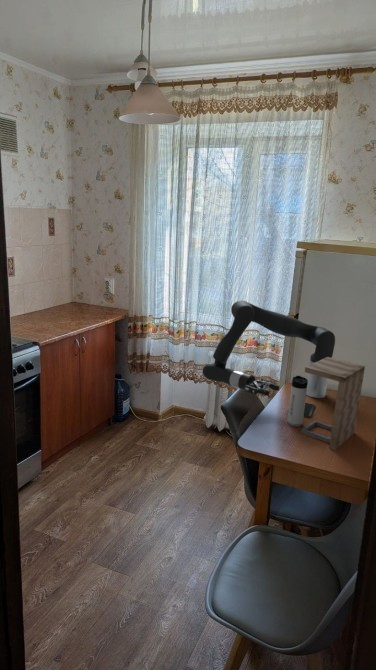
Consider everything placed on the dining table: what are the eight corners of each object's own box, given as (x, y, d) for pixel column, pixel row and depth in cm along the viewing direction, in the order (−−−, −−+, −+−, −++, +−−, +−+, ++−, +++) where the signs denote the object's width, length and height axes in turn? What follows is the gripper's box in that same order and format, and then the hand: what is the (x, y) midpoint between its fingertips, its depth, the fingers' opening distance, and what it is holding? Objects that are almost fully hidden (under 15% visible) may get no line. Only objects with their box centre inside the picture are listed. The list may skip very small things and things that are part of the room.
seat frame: (314, 423, 193) (314, 420, 192) (342, 433, 185) (342, 429, 185) (301, 432, 184) (301, 429, 183) (329, 443, 176) (330, 439, 176)
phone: (315, 404, 211) (310, 416, 198) (315, 407, 211) (310, 419, 198) (298, 401, 214) (292, 412, 200) (297, 403, 214) (292, 415, 201)
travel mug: (299, 420, 195) (305, 375, 190) (304, 427, 189) (310, 381, 184) (285, 419, 195) (290, 375, 190) (289, 426, 189) (294, 380, 184)
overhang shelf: (318, 420, 196) (327, 356, 189) (354, 432, 186) (365, 366, 179) (296, 435, 181) (305, 367, 174) (334, 450, 171) (345, 377, 164)
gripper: (233, 376, 200) (266, 386, 190) (251, 369, 210) (283, 378, 200) (232, 392, 201) (264, 403, 192) (250, 384, 212) (281, 395, 202)
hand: (273, 390), depth 196 cm, fingers open, 8 cm apart
